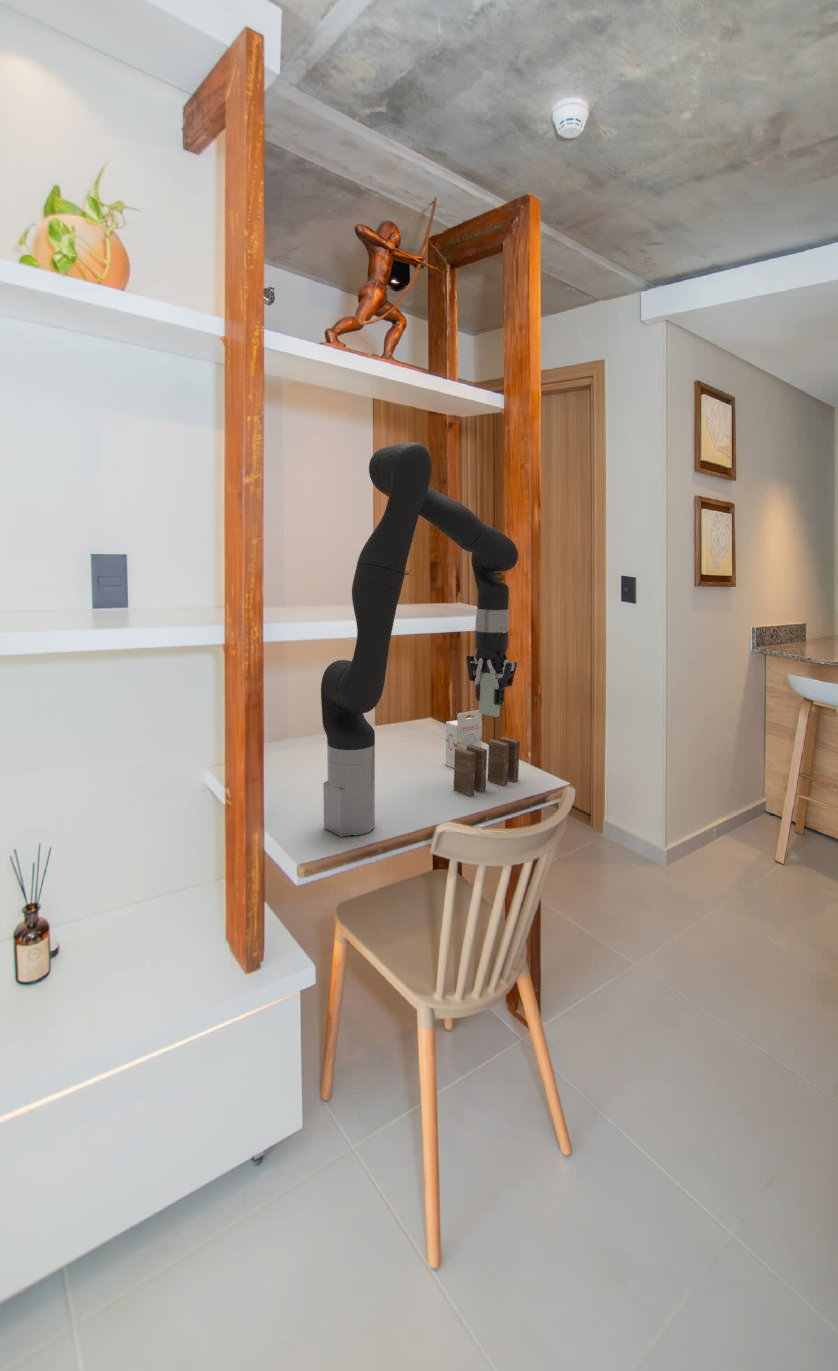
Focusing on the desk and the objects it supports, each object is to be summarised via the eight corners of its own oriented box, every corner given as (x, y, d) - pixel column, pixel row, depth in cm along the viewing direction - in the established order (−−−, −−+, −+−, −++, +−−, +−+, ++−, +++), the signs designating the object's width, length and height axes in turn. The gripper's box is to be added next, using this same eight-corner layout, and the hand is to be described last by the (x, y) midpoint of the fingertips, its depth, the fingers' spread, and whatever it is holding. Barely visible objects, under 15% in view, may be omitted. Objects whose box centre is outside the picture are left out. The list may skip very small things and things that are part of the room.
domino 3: (502, 785, 156) (504, 745, 155) (487, 780, 160) (489, 740, 158) (507, 784, 158) (509, 743, 156) (492, 778, 161) (493, 739, 159)
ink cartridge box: (469, 759, 176) (470, 705, 174) (481, 764, 173) (483, 709, 170) (444, 765, 171) (445, 709, 169) (456, 770, 168) (457, 713, 165)
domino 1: (469, 796, 149) (470, 753, 147) (453, 790, 153) (454, 748, 151) (474, 794, 150) (475, 752, 148) (458, 788, 154) (459, 747, 152)
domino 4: (513, 782, 159) (515, 742, 157) (498, 777, 163) (499, 737, 161) (517, 780, 160) (519, 741, 158) (502, 775, 164) (504, 736, 162)
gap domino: (494, 716, 151) (496, 673, 149) (478, 712, 154) (480, 670, 153) (499, 715, 152) (501, 673, 150) (483, 711, 156) (484, 670, 154)
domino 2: (480, 792, 152) (482, 750, 150) (465, 786, 155) (466, 745, 153) (485, 791, 153) (487, 749, 151) (470, 785, 156) (471, 744, 154)
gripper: (457, 627, 152) (456, 699, 155) (504, 633, 142) (501, 710, 145) (480, 625, 157) (478, 695, 160) (527, 631, 146) (523, 705, 150)
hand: (489, 702), depth 153 cm, fingers closed on gap domino, 5 cm apart
